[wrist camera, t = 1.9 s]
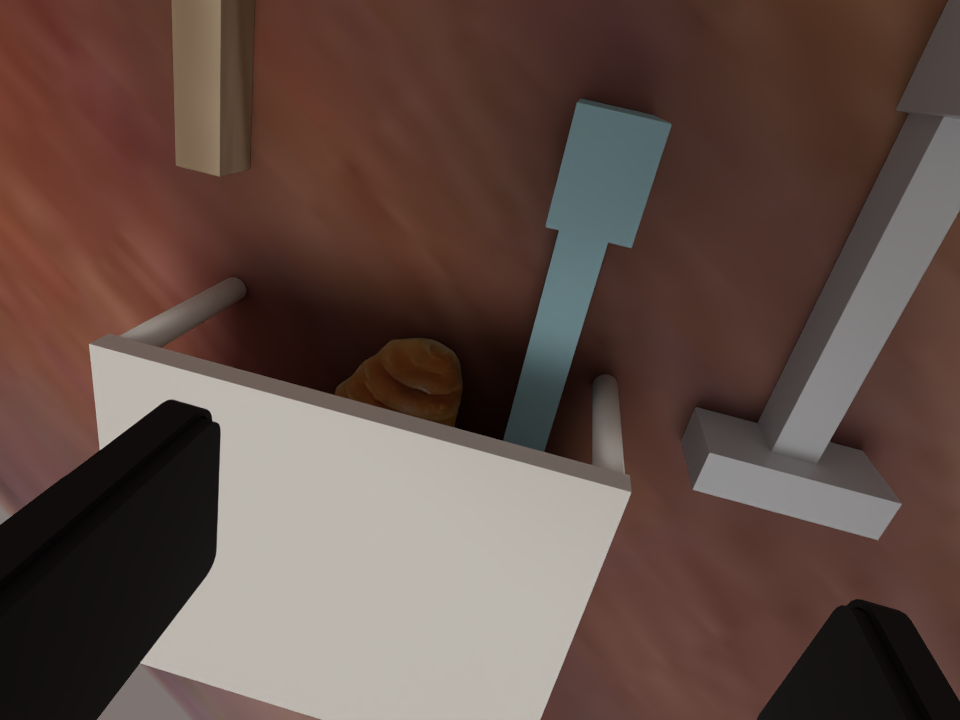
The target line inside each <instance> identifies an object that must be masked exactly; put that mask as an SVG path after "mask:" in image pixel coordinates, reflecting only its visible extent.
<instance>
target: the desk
mask: <svg viewBox="0 0 960 720" xmlns="http://www.w3.org/2000/svg"><path fill="white" fill-rule="evenodd" d="M245 295H246V287H245V285H244V283H243V282H242V281H241V280H240V279H238V278H236V277H230V278H227V279H226V280H224V281H222V282H220V283H218V284H216V285H214V286H212V287H210V288H209V289H207V290H205V291H203V292H201V293H199V294H197V295H195V296H193V297H192V298H190V299H188V300H186V301H184V302H182V303H180V304H178V305H176V306H174V307H173V308H171V309H169V310H167V311H165V312H163V313H161V314H159V315H157V316H156V317H154V318H152V319H150V320H148V321H146V322H144V323H142V324H140V325H139V326H137V327H135V328H133V329H131V330H129V331H127V332H125V333H123V334H122V335H120V336H115V335H112V334H107V335H105V336H103V337H101V338H99V339H97V340H96V341H94V342H92V343H90V344H89V348H90V358H91V368H92V377H93V387H94V397H95V407H96V416H97V426H98V436H99V446H100V450H101V449H102V448H104V447H105V446H106V445H108V444H109V443H110V442H112V441H113V440H114V439H115V438H117V437H118V436H119V435H121V434H122V433H123V432H125V431H126V430H127V429H129V428H130V427H131V426H133V425H134V424H135V423H137V422H138V421H139V420H140V419H142V418H143V417H144V416H146V415H147V414H148V413H150V412H151V411H152V410H154V409H155V408H156V407H158V406H159V405H160V404H161V403H163V402H165V401H167V400H171V399H173V400H177V401H180V402H184V403H187V404H191V405H194V406H197V407H201V408H204V409H207V410H209V411H210V413H211V415H212V421H214V422H217V423H218V424H219V425H220V429H221V437H220V466H219V496H218V525H217V551H216V557H215V560H214V563H213V565H212V568H211V570H210V571H209V573H208V575H207V576H206V578H205V579H204V580H203V581H202V583H201V584H200V585H199V587H198V588H197V589H196V591H195V592H194V593H193V595H192V596H191V597H190V598H189V600H188V601H187V602H186V604H185V605H184V606H183V608H182V609H181V610H180V612H179V613H178V614H177V615H176V617H175V618H174V619H173V621H172V622H171V623H170V625H169V626H168V627H167V628H166V630H165V631H164V632H163V634H162V635H161V636H160V638H159V639H158V640H157V642H156V643H155V644H154V645H153V647H152V648H151V649H150V651H149V652H148V653H147V655H146V656H145V657H144V659H143V660H142V661H141V662H140V663H141V664H144V665H148V666H151V667H154V668H157V669H161V670H164V671H167V672H170V673H173V674H177V675H180V676H183V677H186V678H189V679H193V680H196V681H199V682H202V683H206V684H209V685H212V686H215V687H218V688H222V689H225V690H228V691H231V692H235V693H238V694H241V695H244V696H247V697H251V698H254V699H257V700H260V701H263V702H267V703H270V704H273V705H276V706H280V707H283V708H286V709H289V710H292V711H296V712H299V713H302V714H305V715H308V716H312V717H315V718H318V719H321V720H540V719H541V716H542V714H543V712H544V709H545V707H546V704H547V702H548V699H549V697H550V694H551V692H552V689H553V687H554V684H555V682H556V679H557V677H558V674H559V672H560V669H561V667H562V664H563V662H564V659H565V657H566V654H567V652H568V649H569V647H570V644H571V642H572V639H573V637H574V634H575V632H576V629H577V627H578V624H579V622H580V619H581V617H582V614H583V612H584V609H585V607H586V604H587V602H588V599H589V597H590V594H591V592H592V589H593V587H594V584H595V582H596V579H597V577H598V574H599V572H600V569H601V567H602V565H603V562H604V560H605V557H606V555H607V552H608V550H609V547H610V545H611V542H612V540H613V537H614V535H615V532H616V530H617V527H618V525H619V522H620V520H621V517H622V515H623V512H624V510H625V507H626V505H627V502H628V500H629V497H630V495H631V482H630V475H627V474H625V470H624V457H623V445H622V432H621V419H620V407H619V394H618V383H617V381H616V379H615V378H614V377H613V376H611V375H608V374H603V375H599V376H598V377H596V378H595V379H594V381H593V400H592V465H590V464H586V463H583V462H579V461H575V460H572V459H568V458H564V457H561V456H557V455H553V454H550V453H546V452H542V451H538V450H535V449H531V448H527V447H524V446H520V445H516V444H513V443H509V442H505V441H502V440H498V439H494V438H491V437H487V436H483V435H480V434H476V433H472V432H469V431H465V430H461V429H458V428H454V427H450V426H447V425H443V424H439V423H435V422H432V421H428V420H424V419H421V418H417V417H413V416H410V415H406V414H402V413H399V412H395V411H391V410H388V409H384V408H380V407H377V406H373V405H369V404H366V403H362V402H358V401H355V400H351V399H347V398H343V397H340V396H336V395H332V394H329V393H325V392H321V391H318V390H314V389H310V388H307V387H303V386H299V385H296V384H292V383H288V382H285V381H281V380H277V379H274V378H270V377H266V376H263V375H259V374H255V373H252V372H248V371H244V370H240V369H237V368H233V367H229V366H226V365H222V364H218V363H215V362H211V361H207V360H204V359H200V358H196V357H193V356H189V355H185V354H182V353H178V352H174V351H171V350H167V349H163V348H162V347H163V346H165V345H167V344H168V343H170V342H172V341H173V340H175V339H176V338H178V337H180V336H181V335H183V334H185V333H186V332H188V331H190V330H191V329H193V328H195V327H196V326H198V325H200V324H201V323H203V322H204V321H206V320H208V319H209V318H211V317H213V316H214V315H216V314H218V313H219V312H221V311H223V310H224V309H226V308H227V307H229V306H231V305H232V304H234V303H236V302H237V301H239V300H241V299H242V298H244V297H245Z"/></svg>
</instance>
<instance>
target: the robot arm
mask: <svg viewBox="0 0 960 720" xmlns="http://www.w3.org/2000/svg"><path fill="white" fill-rule="evenodd" d="M220 437H221V429H220V425H219V424H218V423H217V422H214V421H212V415H211V413H210V411H209V410H207V409H204V408H201V407H197V406H194V405H191V404H187V403H184V402H180V401H177V400H173V399H171V400H167V401H165V402H163V403H161V404H160V405H159V406H158V407H156V408H155V409H154V410H152V411H151V412H150V413H148V414H147V415H146V416H144V417H143V418H142V419H140V420H139V421H138V422H137V423H135V424H134V425H133V426H131V427H130V428H129V429H127V430H126V431H125V432H123V433H122V434H121V435H119V436H118V437H117V438H115V439H114V440H113V441H112V442H110V443H109V444H108V445H106V446H105V447H104V448H102V449H101V450H100V451H98V452H97V453H96V454H94V455H93V456H92V457H90V458H89V459H88V460H87V461H85V462H84V463H83V464H81V465H80V466H79V467H77V468H76V469H75V470H73V471H72V472H71V473H69V474H68V475H66V476H65V477H63V478H62V479H60V480H59V481H58V482H56V483H55V484H54V485H52V486H51V487H50V488H48V489H47V490H46V491H44V492H43V493H42V494H40V495H39V496H38V497H36V498H35V499H34V500H33V501H31V502H30V503H29V504H27V505H26V506H25V507H23V508H22V509H21V510H19V511H18V512H17V513H15V514H14V515H13V516H11V517H10V518H9V519H7V520H6V521H5V522H4V523H2V524H1V525H0V720H97V719H98V717H99V716H100V715H101V713H102V712H103V711H104V709H105V708H106V707H107V705H108V704H109V703H110V701H111V700H112V699H113V698H114V696H115V695H116V694H117V692H118V691H119V690H120V689H121V687H122V686H123V685H124V683H125V682H126V681H127V679H128V678H129V677H130V675H131V674H132V673H133V671H134V670H135V669H136V668H137V666H138V665H139V664H140V662H141V661H142V660H143V659H144V657H145V656H146V655H147V653H148V652H149V651H150V649H151V648H152V647H153V645H154V644H155V643H156V642H157V640H158V639H159V638H160V636H161V635H162V634H163V632H164V631H165V630H166V628H167V627H168V626H169V625H170V623H171V622H172V621H173V619H174V618H175V617H176V615H177V614H178V613H179V612H180V610H181V609H182V608H183V606H184V605H185V604H186V602H187V601H188V600H189V598H190V597H191V596H192V595H193V593H194V592H195V591H196V589H197V588H198V587H199V585H200V584H201V583H202V581H203V580H204V579H205V578H206V576H207V575H208V573H209V571H210V570H211V568H212V565H213V563H214V560H215V557H216V551H217V525H218V496H219V466H220ZM757 720H960V701H959V700H958V698H957V696H956V695H955V693H954V691H953V690H952V688H951V686H950V685H949V683H948V681H947V680H946V678H945V676H944V675H943V673H942V671H941V670H940V668H939V666H938V665H937V663H936V661H935V660H934V658H933V656H932V655H931V653H930V651H929V650H928V648H927V646H926V645H925V643H924V641H923V640H922V638H921V636H920V635H919V633H918V631H917V630H916V628H915V626H914V625H913V623H912V621H911V620H910V619H909V618H908V616H907V615H906V614H904V613H903V612H901V611H899V610H896V609H892V608H889V607H885V606H882V605H878V604H875V603H871V602H868V601H865V600H859V599H856V600H853V601H851V602H850V603H849V604H848V605H847V606H843V605H841V606H839V607H837V608H836V609H835V610H834V611H833V613H832V614H831V615H830V617H829V618H828V620H827V621H826V622H825V624H824V625H823V627H822V628H821V629H820V631H819V632H818V633H817V635H816V636H815V638H814V639H813V640H812V642H811V643H810V645H809V646H808V647H807V649H806V650H805V652H804V653H803V654H802V656H801V657H800V659H799V660H798V661H797V663H796V664H795V666H794V667H793V668H792V670H791V671H790V672H789V674H788V675H787V677H786V678H785V679H784V681H783V682H782V684H781V685H780V686H779V688H778V689H777V691H776V692H775V693H774V695H773V696H772V698H771V699H770V700H769V702H768V703H767V704H766V706H765V707H764V709H763V710H762V711H761V713H760V714H759V716H758V718H757Z"/></svg>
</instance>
